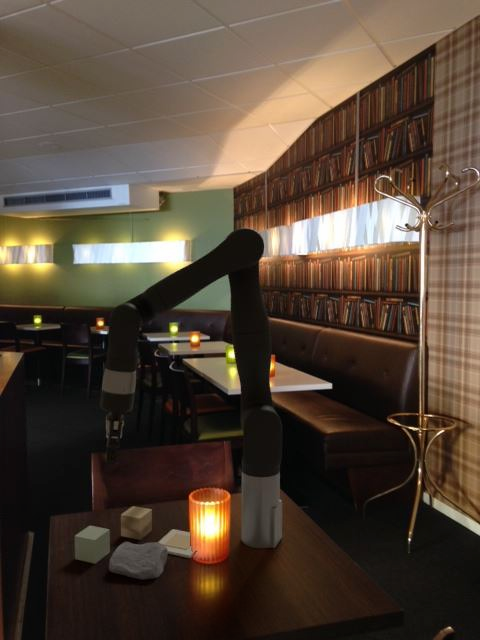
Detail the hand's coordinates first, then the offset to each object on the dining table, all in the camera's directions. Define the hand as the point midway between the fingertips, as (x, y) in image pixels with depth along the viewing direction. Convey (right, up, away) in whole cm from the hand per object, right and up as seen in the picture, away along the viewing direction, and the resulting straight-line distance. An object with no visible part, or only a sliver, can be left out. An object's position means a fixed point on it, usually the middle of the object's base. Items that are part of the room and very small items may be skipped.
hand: (110, 457), depth 123 cm
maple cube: (+4, -22, +9) cm, 24 cm away
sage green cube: (-4, -22, -2) cm, 23 cm away
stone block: (+8, -23, -7) cm, 25 cm away
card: (+16, -22, +3) cm, 27 cm away
